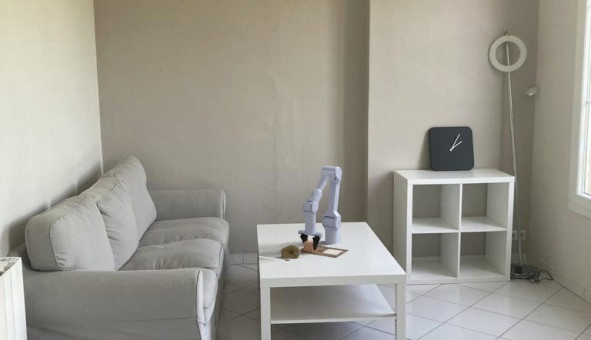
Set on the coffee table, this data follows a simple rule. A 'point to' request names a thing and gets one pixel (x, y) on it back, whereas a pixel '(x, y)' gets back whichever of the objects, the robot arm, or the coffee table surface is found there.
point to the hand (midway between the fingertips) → (310, 248)
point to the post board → (322, 249)
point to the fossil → (290, 252)
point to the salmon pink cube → (309, 246)
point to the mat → (332, 252)
